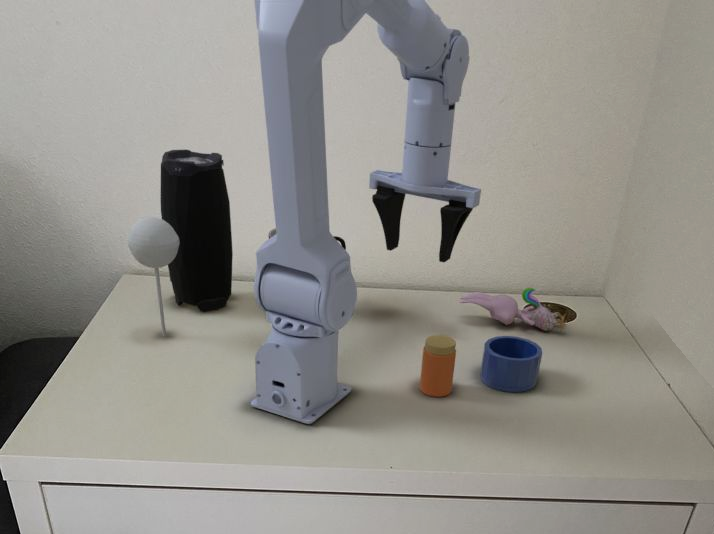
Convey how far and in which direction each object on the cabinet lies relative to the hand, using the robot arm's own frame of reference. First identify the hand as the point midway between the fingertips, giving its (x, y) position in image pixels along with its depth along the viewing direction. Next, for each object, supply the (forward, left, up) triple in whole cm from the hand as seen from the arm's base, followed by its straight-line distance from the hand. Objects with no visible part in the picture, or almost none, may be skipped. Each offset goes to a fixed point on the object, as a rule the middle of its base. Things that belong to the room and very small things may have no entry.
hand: (418, 254), depth 101 cm
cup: (-8, -17, -10) cm, 21 cm away
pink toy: (+8, -12, -10) cm, 17 cm away
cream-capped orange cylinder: (-16, -11, -10) cm, 21 cm away
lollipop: (-22, +25, -10) cm, 35 cm away
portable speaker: (-10, +28, -10) cm, 32 cm away
